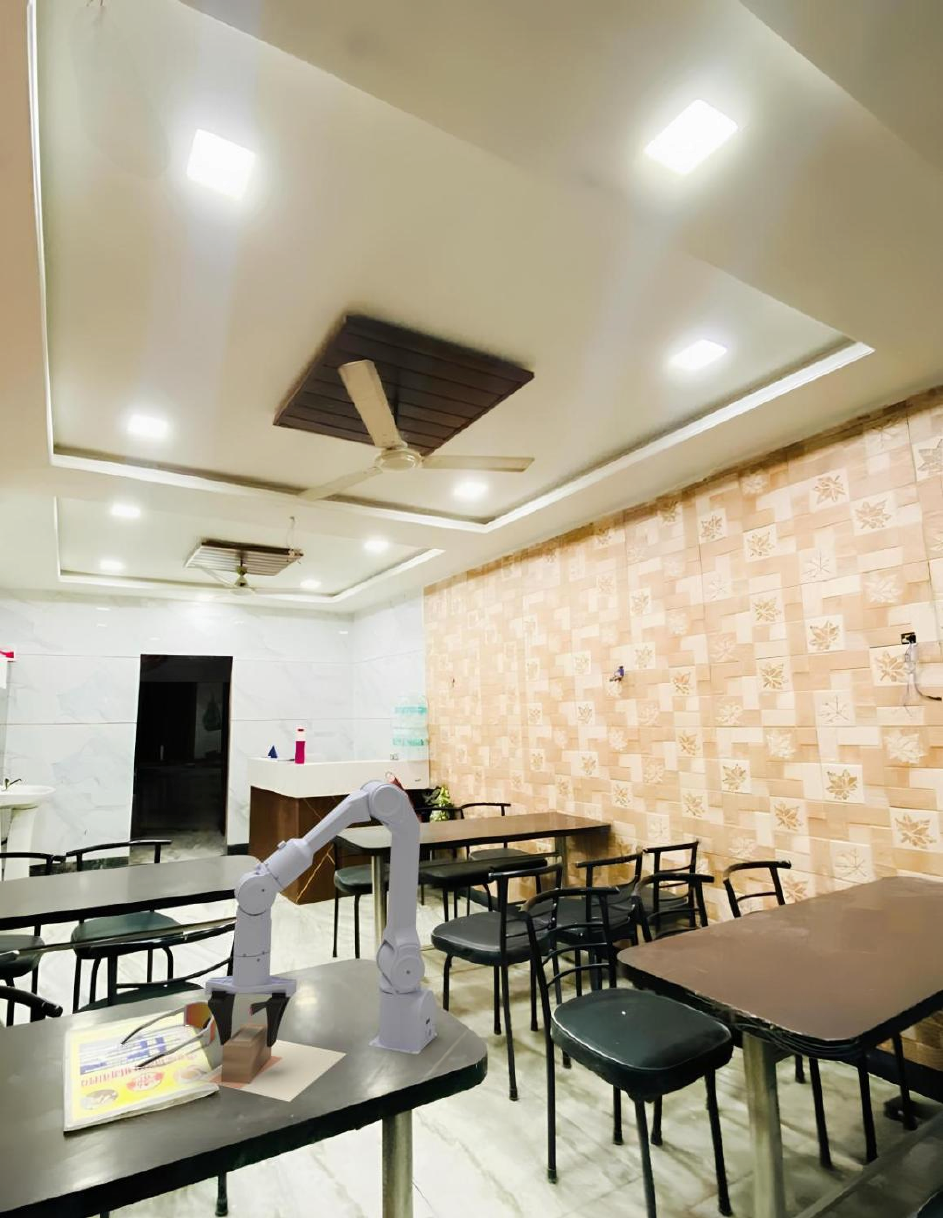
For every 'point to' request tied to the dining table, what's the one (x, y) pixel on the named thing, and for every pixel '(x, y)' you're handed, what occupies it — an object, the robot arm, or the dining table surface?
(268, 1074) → the mat
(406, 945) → the robot arm
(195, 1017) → the sunglasses
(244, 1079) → the card box
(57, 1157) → the dining table surface
